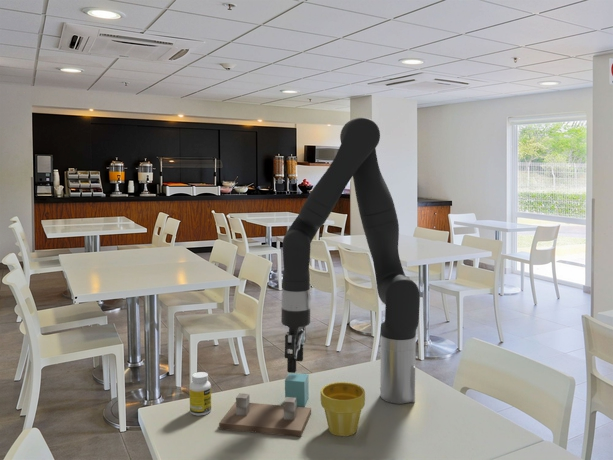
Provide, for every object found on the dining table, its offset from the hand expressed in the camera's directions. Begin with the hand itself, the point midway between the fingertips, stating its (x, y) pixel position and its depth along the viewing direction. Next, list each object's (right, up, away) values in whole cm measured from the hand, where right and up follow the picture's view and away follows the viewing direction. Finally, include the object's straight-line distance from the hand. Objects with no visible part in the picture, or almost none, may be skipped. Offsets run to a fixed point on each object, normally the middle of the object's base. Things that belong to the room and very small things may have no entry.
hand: (295, 366), depth 142 cm
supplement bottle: (-24, -11, -4) cm, 27 cm away
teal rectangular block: (0, -10, +1) cm, 10 cm away
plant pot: (+12, -12, -14) cm, 22 cm away
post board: (-7, -11, -9) cm, 16 cm away
